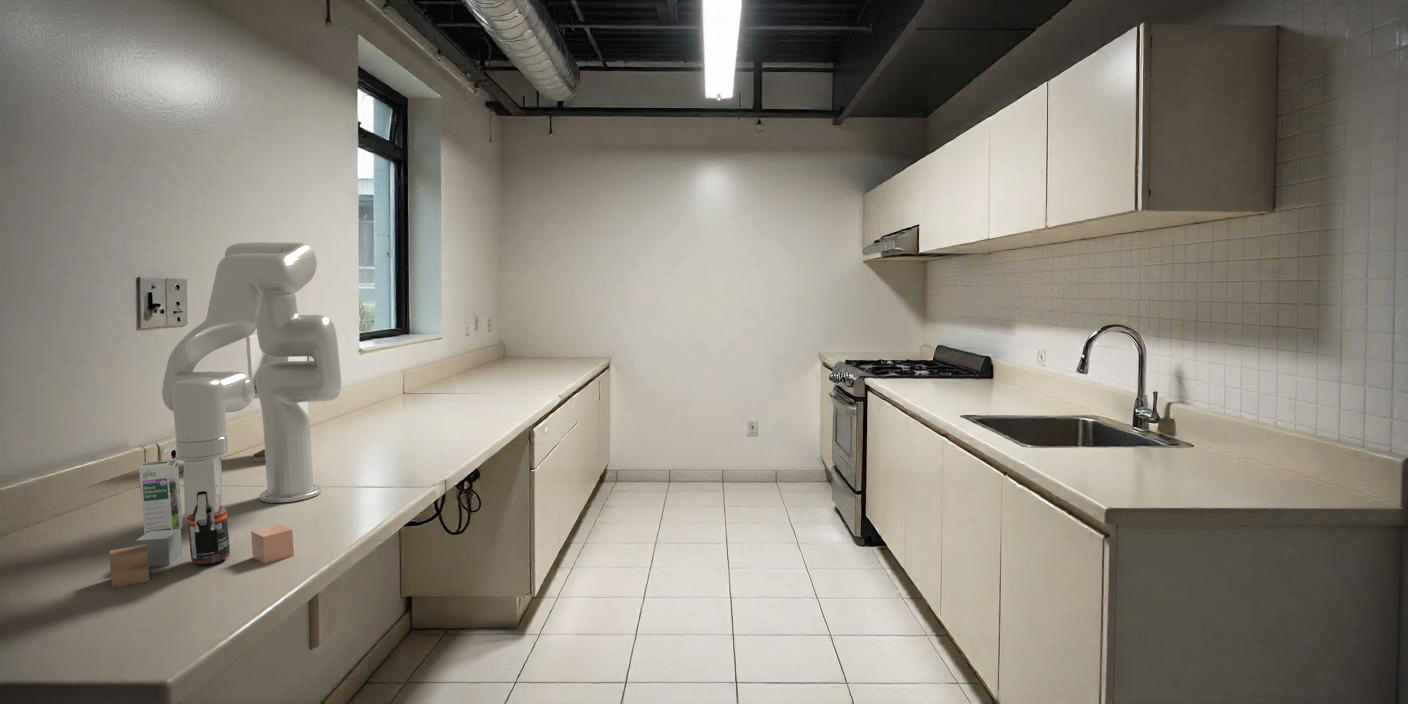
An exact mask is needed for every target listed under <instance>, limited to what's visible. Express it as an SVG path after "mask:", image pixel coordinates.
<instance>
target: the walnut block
mask: <svg viewBox="0 0 1408 704" xmlns="http://www.w3.org/2000/svg"><path fill="white" fill-rule="evenodd" d="M109 567H110V578H111V588H112V589H115V588H120V587H124V586H123V585H125V586H129V585H128V584H130V585H135V584H139V582H140V583H144V581H146V582H149V581H150V571H149V569H150V567H148V554H147V544H145V545H140V546H136V545H135V546H128V547H124V548H117V549H112V550H109ZM134 583H135V584H134ZM119 586H120V587H119ZM114 587H115V588H114Z"/></svg>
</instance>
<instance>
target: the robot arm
mask: <svg viewBox="0 0 1408 704" xmlns="http://www.w3.org/2000/svg"><path fill="white" fill-rule="evenodd" d="M317 264H318V262H317V256H316V253H315V251H314V250H313V248H312V247H311V246H310V245H308V244H307V243H302V242H273V241H271V242H270V241H268V242H267V241H263V242H262V241H259V242H258V241H256V242H255V241H253V242H252V241H251V242H250V241H248V242H240V243H239V242H238V243H232V244H231V245H229V246H228V247H227V248H225V252H224V257H223V258H222V259H221V260H220V261H219V263H218V264H217V267H216V271H215V276H214V280H213V285H212V288H211V289H212V290H211V294H210V298H209V303H208V306H207V313H206V317H205V319H204V320H203V321H202V322H201V323H200V324H199V325H197V326H196V327H194V328H193V329H191V331H189V332H188V333H187V334H186V335H185V336H183V338H182V339H181V340H180V341H179V342H178V343H177V345H175V347H174V348H173V349H172V351H171V353H170V354H169V357H168V360H167V364H166V368H165V371H164V376H163V381H162V388H161V389H162V390H161V396H162V401H163V403H164V405H165V407H166V408H167V409H168V410H170V411H171V412H173V418H174V419H173V421H174V422H173V423H174V431H175V432H174V433H175V444H176V446H175V447H176V457H177V458H176V459H177V460H178V461H181V462H183V491H184V492H183V494H184V495H183V496H184V515H185V516H186V517H187V518H188V517H190V516H191V515H193V513H194V511H195V526H196V531H195V539H196V552H197V554H203V553H210V552H216V551H218V535H217V529H215V513H216V512H217V511H218V510H219V508H220V506H222V502H223V490H224V489H223V470H222V469H223V468H222V459H221V457H224V456H227V455H228V454H229V450H228V448H229V447H228V435H227V423H226V413H233V412H239V411H241V410H242V411H243V410H244V409H246V408H248V406H249V405H250V404H251V403H253V399H255V398H254V394H255V386H254V383H253V381H252V379H251V378H250V377H249V375H248V374H246V373H244V372H240V371H233V370H232V371H194V369H195V368H196V366H197V364H198V363H199V362H200V361H201V360H203V358H205V357H206V356H207V355H209V354H211V353H213V352H214V351H216V350H219V349H222V348H224V347H226V346H228V345H232V344H234V343H237V342H238V341H241V340H243V339H246V337H248V336H252V334H254V332H255V331H256V335H257V336H258V342H259V346H260V349H261V351H262V352H263V353H264V354H266V355H268V356H274V357H302V356H305V357H311V358H312V359H313V360H305V361H279V362H272V363H268V364H265V365H264V366H262V367H261V368H260V369H259V370H258V372H257V374H256V388H257V392H258V395H259V398H258V399H259V403H260V408H261V414H262V416H261V417H262V425H263V426H262V427H263V428H262V429H263V442H264V445H263V446H264V449H265V461H264V462H265V474H266V477H265V478H266V490H264V491H262V492H260V494H259V500H260V501H262V502H265V503H271V504H272V503H273V504H274V503H276V504H277V503H278V504H279V503H280V504H281V503H292V502H297V501H298V502H299V501H302V500H307V499H311V498H314V497H316V496H318V495H320V494H321V492H322V488H321V486H320V485H318V484H314V471H313V455H312V454H313V453H312V437H311V434H312V433H311V421H310V417H309V414H308V415H307V414H306V412H305V411H304V410H303V409H302V408H301V406H300V405H299V404H298V403H299V402H308V403H310V402H311V403H313V402H330V401H333V400H336V399H337V397H339V395H340V393H341V391H342V390H341V389H342V376H341V375H342V374H341V366H340V364H341V363H340V356H339V355H340V354H339V345H338V336H337V331H336V327H335V325H334V323H333V321H332V320H331V318H329V317H328V316H325V315H323V314H322V315H321V314H300V312H299V311H298V305H297V298H296V297H297V296H296V295H297V294H296V293H297V292H299V291H300V290H302V288H304V287H305V286H306V285H307V284H308V283H310V282H311V280H312V279H313V278H314V276H315V273H316V272H317V266H318V265H317ZM207 499H208V500H207ZM208 509H211V512H208V513H207V510H208ZM208 516H210V519H209V518H207V517H208ZM210 521H211V522H210Z"/></svg>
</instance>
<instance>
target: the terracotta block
mask: <svg viewBox="0 0 1408 704" xmlns="http://www.w3.org/2000/svg"><path fill="white" fill-rule="evenodd" d="M250 533H251V536H250V537H251V549H252V551H251V552H252V558H253V559H255V560H257V561H259V562H261V563H263V565H264V564H268V563H272V562H275V561H279V560H282V559H286V558H290V557H291V558H292V557H293V556H295V553H294V536H293V529H292V528H289V527H287V526H285V525H284V524H283V525H282V524H275V525H271V526H268V527H264V528H263V527H262V528H258V529H256V530H251V531H250Z"/></svg>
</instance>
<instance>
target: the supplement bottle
mask: <svg viewBox="0 0 1408 704" xmlns="http://www.w3.org/2000/svg"><path fill="white" fill-rule="evenodd" d="M207 500H208V499H207ZM208 512H211V509H208V510H207V513H208ZM207 518H209V519H210V516H208V517H207ZM210 522H211V521H210ZM187 529H188V538H189V539H188V540H189V551H190V559H191V562H192V563H193V564H195V565H209V564H210V565H212V564H215V563H219V562H221V561H223V560H225V559H227V558H229V556H230V554H231V550H230V549H231V547H230V535H229V525H228V512H227V509H226V508H225V507H224V506H222V505H220V508H219V510H218V511H217V512H216V513H215V529H217V535H218V551H216V552H210V553H203V554H197V552H196V539H195V531H196V526H195V511H194V513H193V515H191V516H190V517H187Z"/></svg>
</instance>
